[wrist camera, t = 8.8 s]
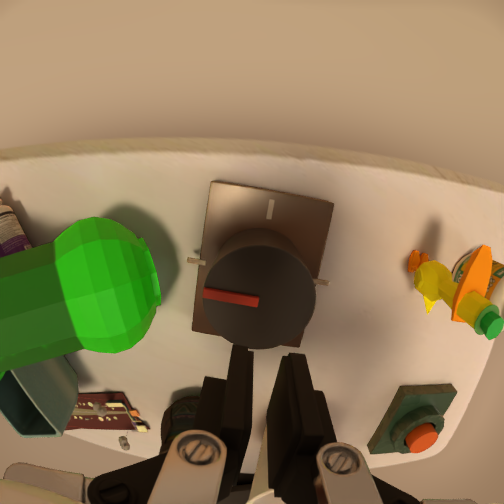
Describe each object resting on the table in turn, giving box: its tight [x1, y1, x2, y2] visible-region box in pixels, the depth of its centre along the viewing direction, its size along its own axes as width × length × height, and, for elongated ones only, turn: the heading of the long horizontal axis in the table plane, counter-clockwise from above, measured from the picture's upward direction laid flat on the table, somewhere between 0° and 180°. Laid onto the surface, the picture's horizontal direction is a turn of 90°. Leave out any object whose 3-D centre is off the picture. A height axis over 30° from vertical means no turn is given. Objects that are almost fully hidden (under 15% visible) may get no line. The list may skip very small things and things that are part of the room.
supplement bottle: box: [452, 254, 504, 332], centre depth 20 cm, size 5×5×10 cm
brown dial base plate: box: [187, 181, 334, 348], centre depth 24 cm, size 12×11×2 cm
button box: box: [367, 384, 457, 454], centre depth 28 cm, size 10×8×4 cm
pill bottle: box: [0, 198, 32, 258], centre depth 22 cm, size 5×5×10 cm
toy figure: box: [408, 245, 504, 340], centre depth 19 cm, size 7×4×12 cm, turn 168°
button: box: [405, 423, 438, 453], centre depth 25 cm, size 4×4×2 cm
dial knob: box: [202, 228, 316, 349], centre depth 20 cm, size 7×7×6 cm
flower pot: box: [0, 355, 78, 438], centre depth 24 cm, size 9×9×9 cm
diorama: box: [65, 393, 150, 450], centre depth 28 cm, size 9×27×4 cm, turn 105°
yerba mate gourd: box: [159, 396, 200, 455], centre depth 24 cm, size 7×8×10 cm
